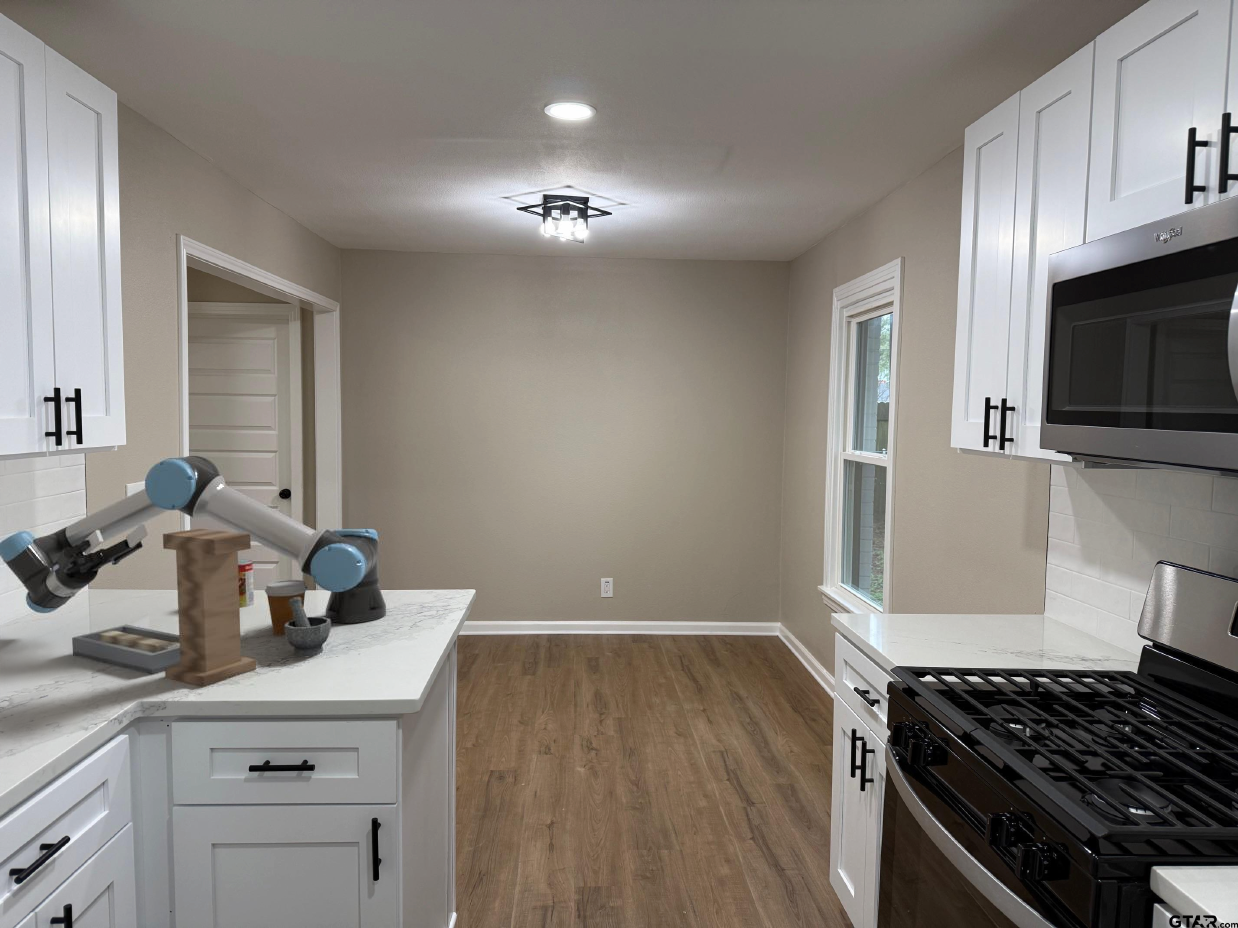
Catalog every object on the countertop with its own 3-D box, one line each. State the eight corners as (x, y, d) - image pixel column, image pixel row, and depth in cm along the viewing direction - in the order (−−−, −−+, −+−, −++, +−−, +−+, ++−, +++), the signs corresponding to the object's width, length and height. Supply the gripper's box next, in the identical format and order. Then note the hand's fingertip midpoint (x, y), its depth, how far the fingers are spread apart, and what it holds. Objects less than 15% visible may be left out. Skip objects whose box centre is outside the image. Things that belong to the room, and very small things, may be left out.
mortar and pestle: (339, 651, 181) (338, 598, 181) (301, 661, 174) (300, 607, 173) (311, 642, 188) (310, 591, 187) (273, 652, 181) (272, 599, 180)
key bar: (97, 647, 181) (96, 634, 181) (115, 642, 185) (114, 629, 184) (166, 662, 170) (166, 648, 170) (184, 657, 174) (183, 643, 174)
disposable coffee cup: (282, 639, 190) (281, 589, 190) (257, 633, 196) (256, 584, 195) (316, 630, 199) (315, 582, 198) (292, 624, 204) (290, 577, 203)
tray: (72, 655, 178) (72, 637, 178) (126, 641, 189) (126, 624, 189) (152, 674, 166) (152, 655, 165) (205, 658, 176) (205, 640, 176)
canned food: (226, 602, 227) (224, 559, 226) (256, 600, 229) (255, 558, 228) (219, 608, 219) (217, 565, 218) (250, 607, 221) (249, 563, 220)
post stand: (159, 675, 165) (153, 535, 163) (212, 659, 176) (207, 527, 173) (211, 688, 158) (205, 541, 156) (262, 670, 168) (258, 532, 166)
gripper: (125, 580, 196) (175, 540, 186) (26, 599, 177) (75, 556, 167) (115, 552, 197) (163, 511, 188) (15, 568, 178) (63, 523, 168)
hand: (122, 532), depth 177 cm, fingers open, 9 cm apart
